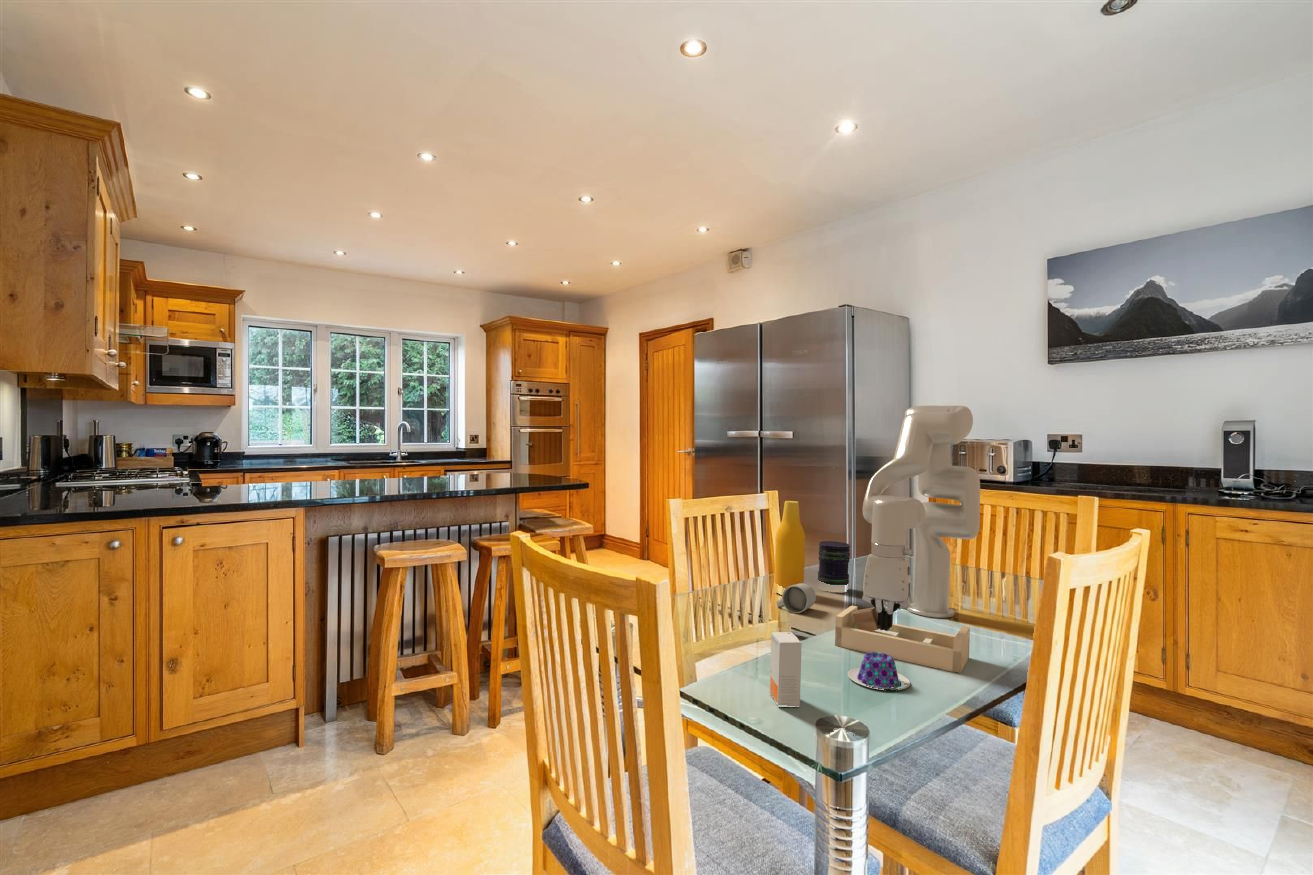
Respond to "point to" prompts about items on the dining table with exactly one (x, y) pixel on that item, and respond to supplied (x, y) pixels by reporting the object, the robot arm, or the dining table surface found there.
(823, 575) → the storage jar
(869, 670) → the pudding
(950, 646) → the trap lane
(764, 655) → the dining table surface
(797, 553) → the beer bottle
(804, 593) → the ceramic mug
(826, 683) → the dining table surface
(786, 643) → the skincare box
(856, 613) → the walnut block
